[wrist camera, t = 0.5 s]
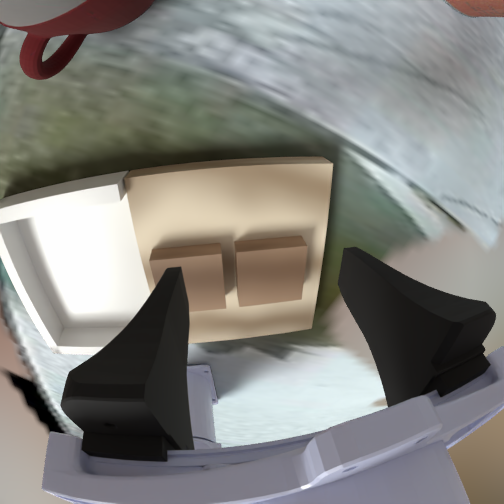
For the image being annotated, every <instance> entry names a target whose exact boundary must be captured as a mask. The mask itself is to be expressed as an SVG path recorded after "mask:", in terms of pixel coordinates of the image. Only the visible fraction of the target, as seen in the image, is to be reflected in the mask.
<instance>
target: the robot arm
mask: <svg viewBox="0 0 504 504" xmlns="http://www.w3.org/2000/svg"><path fill="white" fill-rule="evenodd" d="M338 286H339V288H340V291H341V294H342V296H343V298H344V301H345V303H346V305H347V307H348V308H349V310H350V312H351V314H352V315H353V317H354V319H355V321H356V322H357V324H358V326H359V328H360V329H361V331H362V333H363V335H364V337H365V339H366V341H367V343H368V345H369V347H370V350H371V352H372V355H373V358H374V360H375V363H376V366H377V369H378V372H379V375H380V378H381V381H382V385H383V389H384V392H385V396H386V400H387V405H388V408H386V409H383V410H380V411H377V412H374V413H372V414H369V415H366V416H362V417H359V418H356V419H353V420H350V421H346V422H344V423H341V424H338V425H336V426H333V427H330V428H328V429H326V430H323V431H319V432H315V433H311V434H306V435H302V436H297V437H292V438H287V439H282V440H277V441H271V442H265V443H258V444H251V445H244V446H235V447H226V448H221V443H216V437H215V427H214V417H213V407H212V405H216V404H218V399H217V395H216V391H215V386H214V382H213V377H212V373H211V368H210V366H209V365H193V366H187V356H188V341H189V327H190V316H189V301H188V296H187V292H186V287H185V282H184V278H183V273H182V268H181V266H180V267H171V268H167V269H166V270H165V271H164V273H163V275H162V277H161V278H160V280H159V282H158V283H157V285H156V286H155V288H154V290H153V291H152V293H151V294H150V296H149V297H148V299H147V300H146V302H145V303H144V304H143V306H142V307H141V308H140V310H139V311H138V312H137V314H136V315H135V316H134V318H133V319H132V320H131V321H130V322H129V323H128V325H127V326H126V327H125V328H124V329H123V330H122V331H121V332H120V333H119V334H118V335H117V336H116V337H115V338H114V339H113V340H112V341H110V342H109V343H108V344H107V345H106V346H105V347H104V348H102V349H101V350H100V351H99V352H97V353H96V354H95V355H94V356H92V357H91V358H89V359H88V360H87V361H85V362H84V363H82V364H81V365H79V366H78V367H76V368H74V369H73V370H71V371H70V372H69V374H68V377H67V380H66V383H65V387H64V392H63V396H62V400H61V408H62V410H63V412H64V413H65V414H66V415H67V416H68V417H69V418H70V419H71V420H72V421H73V422H74V423H75V424H76V425H77V426H78V427H79V428H81V429H82V430H83V431H84V433H83V439H81V438H79V437H77V436H73V435H67V434H61V433H56V432H50V434H49V440H48V445H47V451H46V458H45V465H44V473H43V482H42V489H43V490H44V491H46V492H48V493H50V494H52V495H54V496H57V497H59V498H61V499H64V500H66V501H69V502H71V503H74V504H470V502H469V499H468V496H467V494H466V492H465V489H464V487H463V484H462V482H461V480H460V478H459V475H458V473H457V471H456V468H455V466H454V464H453V462H452V460H451V457H450V455H449V453H448V451H447V449H448V448H450V447H452V446H453V445H455V444H456V443H458V442H459V441H461V440H462V439H464V438H465V437H466V436H468V435H469V434H471V433H472V432H474V431H475V430H476V429H478V428H479V427H480V426H482V425H483V424H484V423H486V422H487V421H488V420H490V419H491V418H492V417H494V416H495V415H496V414H497V413H499V412H500V411H501V410H502V409H503V408H504V346H501V347H500V348H498V349H497V350H495V351H493V352H492V353H490V354H489V355H488V356H487V357H485V356H484V354H483V353H484V351H485V348H484V346H483V345H482V343H483V342H484V340H485V338H486V337H487V335H488V334H489V332H490V331H491V329H492V327H493V325H494V323H495V319H496V313H495V312H494V311H493V309H492V308H491V307H490V306H489V305H488V304H487V303H486V302H483V301H478V300H472V299H467V298H463V297H459V296H455V295H452V294H449V293H445V292H443V291H440V290H437V289H434V288H432V287H429V286H427V285H425V284H423V283H420V282H418V281H416V280H414V279H412V278H410V277H408V276H406V275H404V274H402V273H401V272H399V271H397V270H395V269H393V268H392V267H390V266H388V265H387V264H385V263H383V262H382V261H380V260H378V259H377V258H375V257H373V256H372V255H370V254H368V253H366V252H365V251H363V250H361V249H359V248H357V247H350V248H344V250H343V257H342V263H341V269H340V274H339V280H338Z"/></svg>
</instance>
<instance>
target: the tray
mask: <svg viewBox="0 0 504 504" xmlns="http://www.w3.org/2000/svg"><path fill="white" fill-rule="evenodd" d="M128 173H129V171H123V172H117V173H111V174H105V175H99V176H94V177H89V178H84V179H79V180H74V181H69V182H64V183H60V184H55V185H51V186H47V187H43V188H39V189H35V190H31V191H27V192H23V193H19V194H16V195H12V196H8V197H5V198H2V199H1V200H0V256H1V259H2V261H3V263H4V265H5V268H6V270H7V272H8V274H9V276H10V279H11V281H12V283H13V285H14V287H15V289H16V291H17V293H18V295H19V297H20V299H21V300H22V302H23V304H24V306H25V308H26V310H27V311H28V313H29V315H30V317H31V318H32V320H33V322H34V324H35V325H36V327H37V329H38V330H39V332H40V333H41V335H42V337H43V338H44V340H45V341H46V343H47V344H48V346H49V347H50V349H51V350H52V352H53V353H54V354H81V355H95V354H96V353H97V352H99V351H100V350H101V349H102V348H104V347H105V346H106V345H107V344H108V343H109V342H110V341H112V340H113V339H114V338H115V337H116V336H117V335H118V334H119V333H120V332H121V331H122V330H123V329H124V328H125V327H126V326H127V325H128V323H129V322H130V321H131V320H132V319H133V318H134V316H135V315H136V314H137V312H138V311H139V310H140V308H141V307H142V306H143V304H144V303H145V302H146V300H147V299H148V297H149V296H150V290H149V287H148V283H147V279H146V276H145V272H144V268H143V264H142V261H141V257H140V253H139V248H138V244H137V240H136V236H135V231H134V227H133V222H132V218H131V213H130V208H129V203H128V198H127V192H126V187H125V181H124V178H125V177H126V176H127V174H128Z"/></svg>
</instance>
